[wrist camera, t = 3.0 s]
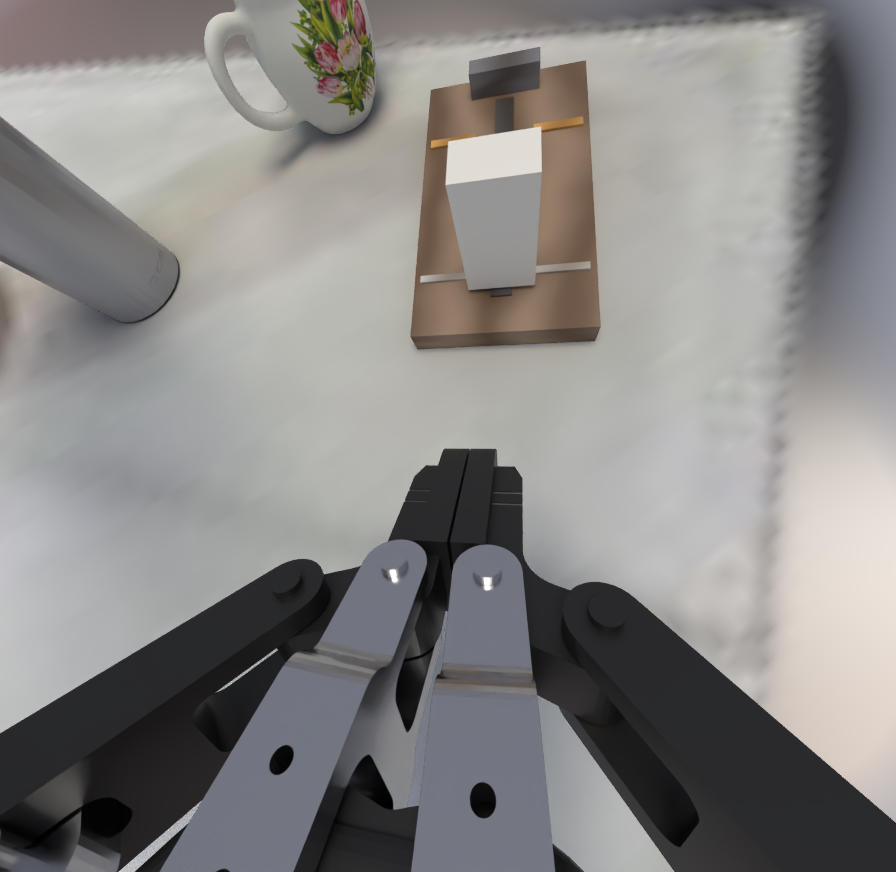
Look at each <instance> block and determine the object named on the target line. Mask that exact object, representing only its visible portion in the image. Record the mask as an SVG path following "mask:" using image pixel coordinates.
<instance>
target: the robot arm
mask: <svg viewBox="0 0 896 872" xmlns="http://www.w3.org/2000/svg"><path fill="white" fill-rule="evenodd" d="M0 261H2V262H4V263H5V264H7V265H9V266H11V267H13V268H15V269H17V270H19V271H21V272H23V273H25V274H27V275H29V276H31V277H33V278H35V279H37V280H39V281H41V282H42V283H44V284H46V285H48V286H50V287H52V288H54V289H56V290H58V291H60V292H62V293H64V294H66V295H68V296H70V297H72V298H74V299H76V300H78V301H79V302H81V303H83V304H85V305H87V306H89V307H91V308H93V309H95V310H97V311H99V312H102V313H104V314H106V315H108V316H110V317H112V318H114V319H116V320H118V321H121V322H135V321H138V320H141V319H143V318H146V317H148V316H149V315H151V314H152V313H154V312H155V311H157V310H158V309H159V308H160V307H161V306H162V305H163V304H164V303H165V301H166V300H167V299H168V298H169V296H170V294H171V293H172V291H173V289H174V287H175V284H176V281H177V277H178V263H177V260H176V258H175V256H174V255H173V253H172V252H170V251H169V250H168V249H167V248H165V247H164V246H163V245H162V244H160V243H159V242H158V241H157V240H155V239H154V238H153V237H152V236H150V235H149V234H148V233H147V232H145V231H144V230H143V229H142V228H140V227H139V226H138V225H137V224H135V223H134V222H133V221H132V220H131V219H129V218H128V217H127V216H125V215H124V214H123V213H122V212H120V211H119V210H118V209H117V208H115V207H114V206H113V205H112V204H110V203H109V202H108V201H106V200H105V199H104V198H103V197H101V196H100V195H99V194H98V193H96V192H95V191H94V190H93V189H91V188H90V187H89V186H88V185H86V184H85V183H84V182H82V181H81V180H80V179H79V178H77V177H76V176H75V175H74V174H72V173H71V172H70V171H69V170H67V169H66V168H65V167H64V166H62V165H61V164H60V163H58V162H57V161H56V160H55V159H53V158H52V157H51V156H50V155H48V154H47V153H46V152H45V151H43V150H42V149H41V148H39V147H38V146H37V145H36V144H34V143H33V142H32V141H31V140H29V139H28V138H27V137H26V136H24V135H23V134H22V133H21V132H19V131H18V130H17V129H15V128H14V127H13V126H12V125H10V124H9V123H8V122H7V121H5V120H4V119H3V118H2V117H0ZM445 611H448V619H447V628H446V638H445V647H444V657H443V665H442V670H441V673H440V674H438V675H437V677H436V680H435V684H434V689H433V695H432V702H431V710H430V718H429V727H428V735H427V743H426V752H425V760H424V769H423V777H422V785H421V794H420V802H419V806H415V807H408V808H406V807H407V803H408V799H409V795H410V791H411V786H412V781H413V775H414V767H415V749H416V741H417V735H418V731H419V727H420V723H421V719H422V716H423V712H424V708H425V704H426V701H427V697H428V693H429V689H430V685H431V682H432V678H433V674H434V670H435V666H436V663H437V659H438V655H439V651H440V647H441V642H442V635H441V630H442V625H443V619H444V614H445ZM276 648H277V649H278V651H276V652H275V653H274V654H272V655H271V656H270V657H268V658H267V659H265V660H264V661H263V662H261V663H260V664H259V665H257V666H256V667H254V668H253V669H252V670H250V671H249V672H248V673H246V674H245V675H243V676H242V677H241V678H239V679H238V680H237V681H235V682H234V683H232V684H231V685H230V686H228V687H227V688H225V689H223V690H221V691H219V692H217V691H218V690H219V689H221V688H222V687H223V686H225V685H226V684H228V683H229V682H230V681H232V680H233V679H235V678H236V677H237V676H239V675H240V674H241V673H243V672H244V671H246V670H247V669H248V668H250V667H251V666H252V665H254V664H255V663H257V662H258V661H259V660H261V659H262V658H264V657H265V656H266V655H268V654H269V653H270V652H272V651H273V650H275V649H276ZM215 692H216V693H215ZM537 695H538V696H540V697H542V698H544V699H546V700H548V701H550V702H552V703H554V704H556V705H557V706H559V708H560V710H561V712H562V714H563V716H564V717H565V719H566V720H567V722H568V723H569V724H570V726H571V727H572V729H573V730H574V731H575V733H576V734H577V736H578V737H579V738H580V740H581V741H582V743H583V744H584V745H585V747H586V748H587V750H588V751H589V752H590V754H591V755H592V757H593V758H594V759H595V761H596V762H597V764H598V765H599V766H600V768H601V769H602V771H603V772H604V773H605V775H606V776H607V778H608V779H609V780H610V782H611V783H612V785H613V786H614V787H615V789H616V790H617V792H618V793H619V794H620V796H621V797H622V799H623V800H624V802H625V803H626V804H627V806H628V807H629V809H630V810H631V811H632V813H633V814H634V816H635V817H636V818H637V820H638V821H639V823H640V824H641V825H642V827H643V828H644V830H645V831H646V832H647V834H648V835H649V837H650V838H651V839H652V841H653V842H654V844H655V845H656V846H657V848H658V849H659V851H660V852H661V853H662V855H663V856H664V858H665V859H666V860H667V862H668V863H669V865H670V866H671V867H672V869H673V870H674V872H896V823H895V822H894V821H893V820H892V819H891V818H889V817H888V816H887V815H886V814H885V813H884V812H882V811H881V810H880V809H879V808H878V807H877V806H875V805H874V804H873V803H872V802H871V801H870V800H869V799H867V798H866V797H865V796H864V795H863V794H862V793H860V792H859V791H858V790H857V789H856V788H855V787H854V786H852V785H851V784H850V783H849V782H848V781H846V780H845V779H844V778H843V777H842V776H841V775H840V774H838V773H837V772H836V771H835V770H834V769H833V768H831V767H830V766H829V765H828V764H827V763H826V762H824V761H823V760H822V759H821V758H820V757H819V756H817V755H816V754H815V753H814V752H813V751H812V750H811V749H809V748H808V747H807V746H806V745H804V743H802V742H801V741H800V740H799V739H798V738H797V737H795V736H794V735H793V734H792V733H791V732H790V731H788V730H787V729H786V728H785V727H784V726H783V725H782V724H780V723H779V722H778V721H777V720H776V719H775V718H773V717H772V716H771V715H770V714H769V713H768V712H766V711H765V710H764V709H763V708H762V707H761V706H759V705H758V704H757V703H756V702H755V701H754V700H752V699H751V698H750V697H749V696H748V695H747V694H746V693H744V692H743V691H742V690H741V689H740V688H739V687H737V686H736V685H735V684H734V683H733V682H732V681H730V680H729V679H728V678H727V677H726V676H725V675H723V674H722V673H721V672H720V671H719V670H718V669H716V668H715V667H714V666H713V665H712V664H711V663H710V662H708V661H707V660H706V659H705V658H704V657H703V656H701V655H700V654H699V653H698V652H697V651H696V650H694V649H693V648H692V647H691V646H690V645H689V644H687V643H686V642H685V641H684V640H683V639H682V638H680V637H679V636H678V635H677V634H676V633H675V632H674V631H672V630H671V629H670V628H669V627H668V626H667V625H665V624H664V623H663V622H662V621H661V620H660V619H658V618H657V617H656V616H655V615H654V614H653V613H651V612H650V611H649V610H648V609H647V608H646V607H644V606H643V605H642V604H641V603H640V602H639V601H638V600H636V599H635V598H634V597H633V596H631V595H630V594H629V593H627V592H626V591H624V590H622V589H621V588H618V587H616V586H614V585H610V584H607V583H601V582H588V583H584V584H580V585H578V586H576V587H575V588H573V589H572V590H571V591H570V590H567V589H565V588H562V587H559V586H556V585H554V584H551V583H549V582H547V581H545V580H543V579H541V578H540V577H539V576H537V575H536V574H535V573H534V572H533V571H532V570H531V569H530V568H529V566H528V565H527V563H526V561H525V559H524V556H523V520H522V477H521V476H520V474H519V473H518V471H517V470H516V468H515V467H500V466H497V450H496V449H471V450H470V449H444V450H443V452H442V455H441V458H440V461H439V464H438V466H428V465H426V466H425V467H424V468H423V469H422V470H421V471H420V472H419V473H418V474H417V475H415V477H414V479H413V482H412V484H411V486H410V491H408V494H407V496H406V499H405V502H404V503H403V506H402V508H401V511H400V513H399V516H398V518H397V520H396V523H395V525H394V528H393V530H392V533H391V535H390V537H389V540H388V542H386V543H383V544H381V545H379V546H378V547H376V548H375V549H373V550H372V551H371V552H370V553H369V554H368V555H367V557H366V558H365V560H364V561H363V563H362V565H361V566H359V567H356V568H352V569H348V570H343V571H338V572H333V573H329V574H324V573H323V571H322V569H321V567H320V566H319V565H318V564H317V563H316V562H314V561H312V560H308V559H297V560H292V561H289V562H286V563H284V564H282V565H280V566H278V567H276V568H274V569H273V570H271V571H269V572H268V573H266V574H264V575H263V576H261V577H259V578H258V579H256V580H254V581H253V582H251V583H249V584H248V585H246V586H244V587H243V588H241V589H239V590H238V591H236V592H234V593H233V594H231V595H230V596H228V597H226V598H225V599H223V600H221V601H220V602H218V603H216V604H215V605H213V606H211V607H210V608H208V609H206V610H205V611H203V612H201V613H200V614H198V615H196V616H195V617H193V618H191V619H190V620H188V621H186V622H185V623H183V624H181V625H180V626H178V627H176V628H175V629H173V630H171V631H170V632H168V633H166V634H165V635H163V636H161V637H160V638H158V639H156V640H155V641H153V642H151V643H150V644H148V645H146V646H145V647H143V648H141V649H140V650H138V651H137V652H135V653H133V654H132V655H130V656H128V657H127V658H125V659H123V660H122V661H120V662H118V663H117V664H115V665H113V666H112V667H110V668H108V669H107V670H105V671H103V672H102V673H100V674H98V675H97V676H95V677H93V678H92V679H90V680H88V681H87V682H85V683H83V684H82V685H80V686H78V687H77V688H75V689H73V690H72V691H70V692H68V693H67V694H65V695H63V696H62V697H60V698H58V699H57V700H55V701H53V702H52V703H50V704H48V705H47V706H45V707H43V708H42V709H40V710H39V711H37V712H35V713H34V714H32V715H30V716H29V717H27V718H25V719H24V720H22V721H20V722H19V723H17V724H15V725H14V726H12V727H10V728H9V729H7V730H5V731H4V732H2V733H0V872H118V871H120V870H121V869H122V868H123V867H124V866H125V865H127V864H128V863H129V862H130V861H131V860H132V859H134V858H135V857H136V856H137V855H138V854H139V853H141V852H142V851H143V850H144V849H145V848H147V847H148V846H149V845H150V844H151V843H152V842H154V841H155V840H156V839H157V838H158V837H159V836H161V835H162V834H163V833H164V832H165V831H166V830H168V829H169V828H170V827H171V826H172V825H173V824H175V823H176V822H177V821H178V820H179V819H180V818H182V817H183V816H184V815H185V814H186V813H187V812H189V811H190V810H191V809H192V808H193V807H194V806H196V805H197V804H198V803H199V802H200V801H201V800H202V802H201V804H200V805H199V807H198V809H197V810H196V812H195V814H194V815H193V817H192V819H191V820H190V822H189V823H188V824H187V825H186V826H185V827H184V828H183V829H181V830H180V831H179V832H178V833H177V834H176V835H175V836H174V837H172V838H171V839H170V840H169V841H168V842H167V843H166V844H165V845H164V846H163V847H161V848H160V849H159V850H158V851H157V852H156V853H155V854H154V855H153V856H152V857H150V858H149V859H148V860H147V861H146V862H145V863H144V864H143V865H142V866H141V867H140V868H138V869H137V870H136V871H135V872H584V871H583V870H582V869H581V868H580V867H579V866H578V865H577V864H576V863H575V862H574V861H573V860H572V859H571V858H570V857H569V856H567V855H566V854H565V853H564V852H562V851H561V850H560V849H559V848H557V847H556V846H555V845H554V844H552V836H551V826H550V816H549V806H548V796H547V787H546V777H545V767H544V757H543V747H542V737H541V727H540V718H539V708H538V699H537Z"/></svg>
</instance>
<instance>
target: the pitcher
mask: <svg viewBox="0 0 896 872" xmlns="http://www.w3.org/2000/svg"><path fill="white" fill-rule="evenodd" d="M234 4H235V7H236V10H235V11H234V12H229V13H221V14H218V15H217V16H215V17H213V18H212V19H211V20H210V21H209V23H208V25H207V28H206V30H205V38H204V42H205V52H206V56H207V60H208V64H209V66H210V69H211V71H212V74H213V76H214V78H215V80H216V82H217V84H218V86H219V88H220V89H221V91H222V92H223V94H224V95H225V97H226V98H227V100H228V101H229V102H230V104H231V105H232V106H233V107H234V109H235V110H236V111H237V112H238V113H239V114H240V115H241V116H242V117H244V118H245V119H246V120H247V121H249V122H250V123H252V124H253V125H255V126H257V127H260V128H262V129H265V130H270V131H282V130H285V129H288V128H290V127H293V126H295V125H297V124H298V123H300V122H303V121H308V122H309V123H311V124H312V125H314V126H316V127H317V128H319V129H320V130H321V131H323V132H325V133H327V134H341V133H345V132H348V131H350V130H352V129H354V128H356V127H357V126H359V125H360V124H361V123H362V122H363V121H364V120H365V119H366V118H367V116H368V115H369V113H370V111H371V109H372V105H373V98H374V94H375V87H376V62H375V49H374V41H373V35H372V30H371V25H370V20H369V16H368V12H367V8H366V4H365V1H364V0H234ZM241 34H242V35H245V36H246V39H247V41H248V43H249V45H250V47H251V49H252V51H253V53H254V55H255V57H256V59H257V60H258V62H259V64H260V66H261V67H262V69H263V71H264V72H265V74H266V75H267V77H268V78H269V80H270V81H271V82H272V84H273V85H274V86H275V88H276V89H277V90H278V91H279V93H280V94H281V95H282V97H283V98H284V99H285V100H286V101H287V107H286V108H285V109H284V110H282V111H280V112H276V113H268V112H262V111H258V110H256V109H254V108H252V107H251V106H250V105H249V104H248V103H247V102H246V101H245V100H244V99H243V98H242V96H241V95H240V94H239V92H238V91H237V89H236V88H235V86H234V84H233V82H232V80H231V78H230V76H229V74H228V71H227V68H226V64H225V60H224V46H225V43H226V41H227V40H228V39H229V38H230V37H232V36H234V35H241Z"/></svg>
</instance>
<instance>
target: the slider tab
mask: <svg viewBox="0 0 896 872" xmlns="http://www.w3.org/2000/svg"><path fill="white" fill-rule="evenodd" d="M541 177H542V152H541V127H535V128H529V129H523V130H516V131H510V132H504V133H498V134H491V135H485V136H479V137H473V138H467V139H460V140H454V141H448V153H447V169H446V184H445V185H446V190H447V194H448V199H449V203H450V208H451V213H452V217H453V222H454V226H455V231H456V235H457V240H458V245H459V249H460V254H461V258H462V263H463V267H464V272H465V277H466V281H467V286H468V290H477V289H489V288H502V287H515V286H528V285H535V277H536V260H537V244H538V227H539V210H540V193H541Z"/></svg>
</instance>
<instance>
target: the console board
mask: <svg viewBox="0 0 896 872" xmlns="http://www.w3.org/2000/svg"><path fill="white" fill-rule="evenodd" d="M469 81H470V83H465V84H460V85H455V86H449V87H444V88H439V89H434V90H431V95H430V108H429V120H428V132H427V144H426V156H425V168H424V180H423V192H422V205H421V217H420V229H419V241H418V253H417V265H416V277H415V290H414V302H413V314H412V326H411V338H412V340H413V342H414V344H415V345H416V347H417V349H424V348H445V347H467V346H488V345H510V344H531V343H553V342H574V341H595V339H596V337H597V334H598V332H599V329H600V309H599V291H598V273H597V255H596V236H595V218H594V200H593V182H592V164H591V146H590V127H589V109H588V91H587V73H586V60H585V61H580V62H575V63H570V64H564V65H559V66H554V67H549V68H544V69H540V47H537V48H532V49H527V50H522V51H517V52H512V53H507V54H502V55H497V56H493V57H488V58H483V59H478V60H473V61H469ZM535 127H541V152H542V177H541V193H540V210H539V227H538V244H537V260H536V277H535V285H528V286H515V287H502V288H489V289H477V290H468V286H467V281H466V277H465V272H464V267H463V263H462V258H461V254H460V249H459V245H458V240H457V235H456V231H455V226H454V222H453V217H452V213H451V208H450V203H449V199H448V194H447V190H446V185H445V184H446V169H447V153H448V141H454V140H460V139H467V138H473V137H479V136H485V135H491V134H498V133H504V132H510V131H516V130H523V129H529V128H535Z"/></svg>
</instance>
